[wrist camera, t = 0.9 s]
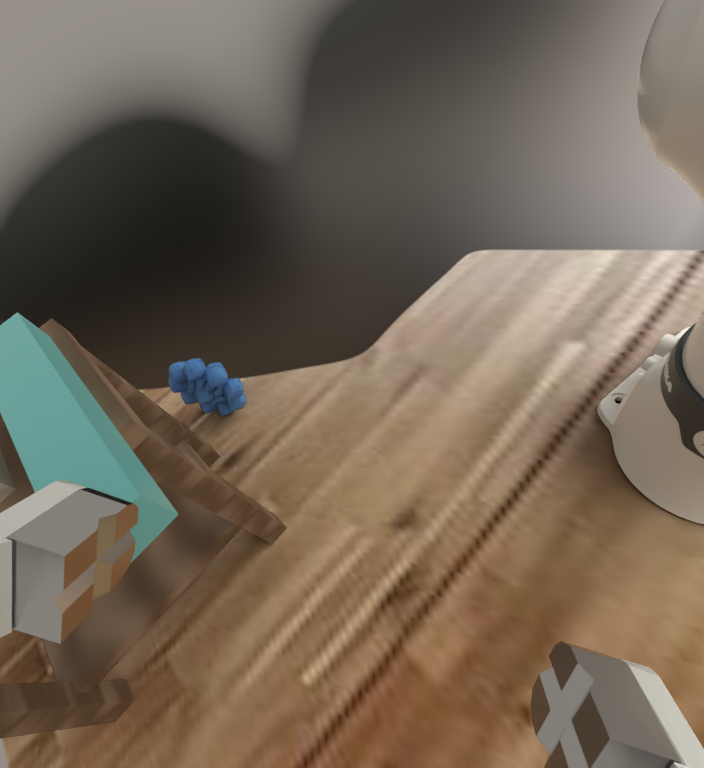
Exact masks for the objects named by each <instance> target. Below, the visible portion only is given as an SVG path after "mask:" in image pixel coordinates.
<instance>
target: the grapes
mask: <svg viewBox="0 0 704 768" xmlns="http://www.w3.org/2000/svg"><path fill="white" fill-rule="evenodd" d="M169 375H170V377H169V381H168V383H169V386H170V388H171V390H172V391H173V393H177V392H181V397H182V399H183V401H184V402H185V404H193V403H196V402H199V403H200V407H201V408H202V410H203V412H204V413H208V412H212V411H215V410H216V409H217V408H218V410H219V412H220V413H221V415H228V414H231V413H233V412H234V411H235V410H238V409H241V408H243V407H244V406H245V405H246V402H247V400H246V396H245V394H244V393H243V392H244V388H243V384H242V383H241V381H240V380H239V379H238V378H231V379H228V375H227V372H226V370H225V368H224V367H223V365H222V364H221V363H219V362H218V363H211V364H209V365H208V366H207V367H205V364H204V363H203V361H202V360H201V359H199V358H198V359H190V360H188V361H187V362H176V363H173V364H172V365H171V366H170V367H169Z"/></svg>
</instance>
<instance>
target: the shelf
mask: <svg viewBox="0 0 704 768" xmlns="http://www.w3.org/2000/svg"><path fill="white" fill-rule="evenodd" d="M39 329H40V330H42V331H43V332H44V333H46V334H47V335H48V336H50V337H51V339H52V340H53V342H54V343H55V344H56V346H57V347H58V349H59V350H60V351H61V353H62V354H63V355H64V357H65V358H66V360H67V361H68V362H69V364H70V365H71V366H72V368H73V369H74V371H75V372H76V373H77V375H78V376H79V378H80V379H81V380H82V382H83V383H84V384H85V386H86V387H87V389H88V390H89V391H90V393H91V394H92V395H93V397H94V398H95V400H96V401H97V402H98V404H99V405H100V406H101V408H102V409H103V411H104V412H105V413H106V415H107V416H108V418H109V419H110V420H111V422H112V423H113V424H114V426H115V427H116V429H117V430H118V431H119V433H120V434H121V435H122V437H123V438H124V440H125V441H126V442H127V444H128V445H129V446H130V448H131V449H132V451H133V452H134V453H135V455H136V456H137V458H138V459H139V460H140V462H141V463H142V464H143V466H144V467H145V469H146V470H147V471H148V473H149V474H150V475H151V477H152V478H153V480H154V481H155V482H156V484H157V485H158V486H159V488H160V489H161V491H162V492H163V493H164V495H165V496H166V498H167V499H168V500H169V502H170V503H171V504H172V506H173V507H174V509H175V510H176V511H177V513H178V514H179V515H178V516H177V517H176V518H175V519H174V520H173V521H172V522H171V523H170V524H169V525H168V526H167V527H166V528H165V529H164V530H163V531H162V532H161V533H160V534H159V535H158V536H157V537H156V538H155V539H154V540H153V541H152V542H151V543H150V544H149V545H148V546H147V547H146V548H145V549H144V550H143V551H142V552H141V553H140V554H139V555H138V556H137V557H136V558H135V559H134V560H133V561H132V562H131V563H130V565H129V567H128V569H127V570H126V572H125V574H124V575H123V577H122V579H121V580H120V581H119V582H118V584H117V585H116V586H115V587H114V588H113V589H112V590H111V591H110V592H109V593H106V594H104V595H101V596H99V597H96V598H94V599H93V601H92V610H91V612H90V614H89V615H88V616H87V617H86V618H85V619H84V620H83V621H82V622H81V623H80V624H79V625H78V626H77V627H76V628H75V629H74V630H73V631H72V632H71V633H70V635H69V636H68V637H67V638H66V639H65V640H64V641H63V642H62V643H61V644H59V643H56V642H53V641H49V640H46V639H43V638H42V639H43V642H44V645H45V648H46V651H47V654H48V657H49V660H50V663H51V666H52V669H53V672H54V675H55V678H56V681H57V682H50V683H23V684H0V738H7V737H14V736H21V735H28V734H34V733H41V732H48V731H55V730H62V729H69V728H75V727H82V726H89V725H96V724H103V723H110V722H115V721H116V720H117V719H118V718H119V717H120V716H121V714H122V713H123V712H124V711H125V710H126V709H127V708H128V707H129V705H130V704H131V703H132V702H133V701H134V698H133V696H132V694H131V692H130V689H129V687H128V685H127V683H126V680H104V681H101V680H102V679H103V678H104V677H105V676H106V674H107V673H108V672H109V671H110V670H111V669H112V668H113V667H114V666H115V665H116V664H117V663H118V661H119V660H120V659H121V658H122V657H123V656H124V655H125V654H126V653H127V652H128V651H129V649H130V648H131V647H132V646H133V645H134V644H135V643H136V642H137V641H138V640H139V639H140V638H141V636H142V635H143V634H144V633H145V632H146V631H147V630H148V629H149V628H150V627H151V626H152V625H153V623H154V622H155V621H156V620H157V619H158V618H159V617H160V616H161V615H162V614H163V613H164V612H165V610H166V609H167V608H168V607H169V606H170V605H171V604H172V603H173V602H174V601H175V600H176V599H177V597H178V596H179V595H180V594H181V593H182V592H183V591H184V590H185V589H186V588H187V587H188V585H189V584H190V583H191V582H192V581H193V580H194V579H195V578H196V577H197V576H198V575H199V574H200V572H201V571H202V570H203V569H204V568H205V567H206V566H207V565H208V564H209V563H210V562H211V561H212V559H213V558H214V557H215V556H216V555H217V554H218V553H219V552H220V551H221V550H222V549H223V548H224V546H225V545H226V544H227V543H228V542H229V541H230V540H231V539H232V538H233V537H234V536H235V535H236V533H237V532H238V531H239V530H240V529H241V528H242V529H244V530H246V531H248V532H250V533H252V534H253V535H255V536H257V537H259V538H261V539H263V540H264V541H266V542H268V543H270V544H273V543H274V542H275V541H276V540H277V538H278V537H279V536H280V535H281V534H282V533H283V532H284V531H285V529H286V526H285V525H284V524H283V523H282V522H281V521H280V520H279V519H278V518H277V517H276V516H275V515H274V514H273V513H271V512H270V511H268V510H267V509H266V508H264V507H263V506H261V505H260V504H258V503H257V502H255V501H254V500H252V499H251V498H250V497H248V496H247V495H245V494H244V493H242V492H241V491H239V490H238V489H236V488H235V487H234V486H232V485H231V484H229V483H228V482H226V481H225V480H223V479H222V478H220V477H219V476H218V475H216V474H215V473H214V472H213V471H212V470H211V469H210V468H209V467H210V466H211V465H212V464H213V463H214V462H215V461H216V460H217V459H218V458H219V457H220V456H219V455H218V454H217V452H216V451H215V450H214V449H213V448H212V447H211V446H210V445H208V444H207V443H206V442H204V441H203V440H202V439H201V438H199V437H198V436H197V435H195V434H194V433H193V432H191V431H190V430H189V429H188V428H186V427H185V426H184V425H182V424H181V423H180V422H179V421H177V420H176V419H175V418H173V417H172V416H171V415H170V414H168V413H167V412H166V411H164V410H163V409H162V408H160V407H159V406H158V405H157V404H155V403H154V402H153V401H151V400H150V399H149V398H148V397H146V396H145V395H144V394H142V393H141V392H140V391H138V390H137V389H136V388H135V387H133V386H132V385H131V384H129V383H128V382H127V381H126V380H124V379H123V378H122V377H120V376H119V375H118V374H116V373H115V372H114V371H113V370H111V369H110V368H109V367H107V366H106V365H105V364H104V363H102V362H101V361H100V360H98V359H97V358H96V357H95V356H93V355H92V354H91V353H89V352H88V351H87V350H86V349H84V348H83V347H82V346H80V345H79V343H78V342H77V341H76V340H75V338H74V337H73V336H72V335H71V333H70V332H68V331H67V330H66V329H65V328H63V327H62V326H61V325H59V324H58V323H57V322H56V321H54V320H53V319H50V320H49V321H48V322H46V323H45V324H44V325H43V326H41V327H40V328H39ZM34 493H35V491H34V489H33V487H32V484H31V482H30V480H29V477H28V475H27V473H26V471H25V468H24V466H23V464H22V461H21V459H20V457H19V454H18V452H17V450H16V447H15V445H14V443H13V441H12V438H11V436H10V434H9V431H8V429H7V427H6V424H5V422H4V420H3V417H2V415H1V413H0V513H1V512H3V511H5V510H7V509H8V508H10V507H12V506H13V505H15V504H17V503H19V502H20V501H22V500H24V499H25V498H27V497H29V496H31V495H32V494H34Z"/></svg>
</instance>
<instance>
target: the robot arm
mask: <svg viewBox="0 0 704 768" xmlns="http://www.w3.org/2000/svg"><path fill="white" fill-rule="evenodd" d="M637 107H638V114H639V120H640V124H641V128H642V131H643V134H644V137H645V139H646V141H647V143H648V145H649V147H650V149H651V150H652V152H653V153H654V155H655V156H656V157H657V159H658V160H660V161H661V162H663V163H664V164H665V165H667V166H668V167H670V168H671V169H672V170H673V171H674V172H675V173H676V174H678V175H679V176H680V177H681V178H682V179H683V180H684V181H685V182H686V183H687V184H688V185H689V186H690V187H691V188H692V189H693V191H694V192H695V193H696V194H697V196H698V197H699V199H700V200H701V201H702V203H703V204H704V0H664V2H663V4H662V6H661V8H660V10H659V12H658V14H657V16H656V18H655V20H654V23H653V25H652V27H651V30H650V33H649V36H648V38H647V41H646V44H645V48H644V51H643V55H642V59H641V64H640V68H639V75H638V85H637ZM653 352H654V355H653V356H649V357H648V358H647V359H646V360H645V361H644V362H643V364H642V365H641V366H640V367H639V368H638V369H637V370H635V371H634V372H633V373H632V374H631V375H630V376H629V377H627V378H626V379H625V380H624V381H623V382H622V383H621V384H619V385H618V386H617V387H616V388H615V389H614V390H613V391H611V392H610V393H609V394H608V395H607V396H606V397H605V398H603V399H602V400H601V402H600V403H599V405H598V406H597V412H598V415H599V417H600V418H601V420H602V421H603V423H604V424H605V426H606V427H607V428H608V429H609V431H610V433H611V436H612V441H613V446H614V451H615V455H616V458H617V460H618V462H619V465H620V467H621V468H622V470H623V472H624V473H625V475H626V476H627V477H628V479H629V480H630V481H631V482H632V484H633V485H634V486H635V487H636V488H637V489H638V490H639V491H640V492H641V493H642V494H644V495H645V496H646V497H647V498H649V499H650V500H651V501H653V502H654V503H656V504H657V505H659V506H660V507H662V508H664V509H665V510H667V511H669V512H671V513H673V514H675V515H677V516H680V517H682V518H685V519H687V520H690V521H693V522H697V523H700V524H704V309H703V311H702V313H701V315H700V317H699V319H698V321H697V323H695V324H694V325H693V326H691V327H687V328H685V329H683V330H682V331H680V332H679V333H678V334H677V335H676V336H674V335H672V334H666V335H665V336H664V337H663V338H662V339H661V340H660V341H659V342H658V344H657V345H656V346H655V348H654V350H653ZM616 400H618V401H620V402H621V404H618V403H616V402H615V401H616ZM138 512H139V508H138V507H137V506H136V505H135V504H134V503H131V502H128V501H126V500H123V499H120V498H117V497H114V496H111V495H108V494H106V493H103V492H100V491H97V490H94V489H91V488H86V487H84V486H81V485H78V484H75V483H73V482H70V481H67V480H60V481H55V482H53V483H51V484H49V485H48V486H46V487H44V488H43V489H41V490H39V491H37V492H36V493H34V494H32V495H31V496H29V497H27V498H25V499H24V500H22V501H20V502H19V503H17V504H15V505H13V506H12V507H10V508H8V509H7V510H5V511H3V512H1V513H0V638H1V637H3V636H5V635H7V634H9V633H11V632H12V629H14V630H17V631H21V632H24V633H27V634H30V635H33V636H37V637H40V638H43V639H46V640H49V641H53V642H56V643H59V644H61V643H62V642H63V641H64V640H65V639H66V638H67V637H68V636H69V635H70V633H71V632H72V631H73V630H74V629H75V628H76V627H77V626H78V625H79V624H80V623H81V622H82V621H83V620H84V619H85V618H86V617H87V616H88V615H89V614H90V612H91V610H92V601H93V599H94V598H96V597H99V596H101V595H104V594H106V593H109V592H110V591H111V590H112V589H113V588H114V587H115V586H116V585H117V584H118V582H119V581H120V580H121V579H122V577H123V575H124V574H125V572H126V570H127V569H128V567H129V565H130V563H131V560H132V557H133V554H134V551H135V543H136V541H135V539H134V537H133V535H132V534H131V532H130V529H131V528H132V527H133V526H134V525H136V524H137V523H138ZM549 657H550V660H551V663H552V667H553V668H551V669H549V670H547V671H544V672H542V673H540V674H539V676H538V678H537V680H536V682H535V684H534V686H533V690H532V698H531V714H532V722H533V726H534V730H535V734H536V737H537V738H538V739H539V741H540V742H541V744H542V745H543V746H544V748H545V749H546V750H547V752H548V753H549V757H548V759H547V762H546V764H545V767H544V768H704V749H703V747H702V746H701V744H700V742H699V741H698V739H697V737H696V736H695V734H694V733H693V731H692V729H691V728H690V726H689V724H688V723H687V721H686V720H685V718H684V716H683V715H682V713H681V711H680V710H679V708H678V706H677V705H676V703H675V702H674V700H673V698H672V697H671V695H670V693H669V692H668V690H667V689H666V687H665V685H664V684H663V682H662V680H661V679H660V677H659V676H658V675H657V674H656V673H655V672H654V671H653V670H652V669H651V668H650V667H646V666H643V665H640V664H636V663H633V662H630V661H626V660H623V659H617V658H615V657H612V656H608V655H605V654H602V653H599V652H596V651H592V650H589V649H586V648H583V647H580V646H576V645H573V644H570V643H567V642H564V641H561V642H559V643H558V644H556V645H555V646H554V648H553V650H552V652H551V653H550V655H549Z"/></svg>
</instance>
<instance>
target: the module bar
mask: <svg viewBox="0 0 704 768" xmlns="http://www.w3.org/2000/svg"><path fill="white" fill-rule="evenodd" d="M0 413H1V415H2V417H3V420H4V422H5V424H6V427H7V429H8V431H9V434H10V436H11V438H12V441H13V443H14V445H15V447H16V450H17V452H18V454H19V457H20V459H21V461H22V464H23V466H24V468H25V471H26V473H27V475H28V477H29V480H30V482H31V484H32V487H33V489H34V491H35V493H36V492H37V491H39V490H41V489H43V488H44V487H46V486H48V485H49V484H51V483H53V482H55V481H60V480H67V481H70V482H73V483H75V484H78V485H81V486H84V487H86V488H91V489H94V490H97V491H100V492H103V493H106V494H108V495H111V496H114V497H117V498H120V499H123V500H126V501H128V502H131V503H134V504H135V505H136V506H137V507H138V508H139V512H138V523H137V524H136V525H134V526H133V527H132V528H131V529H130V532H131V534H132V535H133V537H134V539H135V541H136V543H135V551H134V554H133V557H132V560H131V562H132V561H133V560H134V559H135V558H136V557H137V556H138V555H139V554H140V553H141V552H142V551H143V550H144V549H145V548H146V547H147V546H148V545H149V544H150V543H151V542H152V541H153V540H154V539H155V538H156V537H157V536H158V535H159V534H160V533H161V532H162V531H163V530H164V529H165V528H166V527H167V526H168V525H169V524H170V523H171V522H172V521H173V520H174V519H175V518H176V517H177V516H178V515H179V514H178V513H177V511H176V510H175V509H174V507H173V506H172V504H171V503H170V502H169V500H168V499H167V498H166V496H165V495H164V493H163V492H162V491H161V489H160V488H159V486H158V485H157V484H156V482H155V481H154V480H153V478H152V477H151V475H150V474H149V473H148V471H147V470H146V469H145V467H144V466H143V464H142V463H141V462H140V460H139V459H138V458H137V456H136V455H135V453H134V452H133V451H132V449H131V448H130V446H129V445H128V444H127V442H126V441H125V440H124V438H123V437H122V435H121V434H120V433H119V431H118V430H117V429H116V427H115V426H114V424H113V423H112V422H111V420H110V419H109V418H108V416H107V415H106V413H105V412H104V411H103V409H102V408H101V406H100V405H99V404H98V402H97V401H96V400H95V398H94V397H93V395H92V394H91V393H90V391H89V390H88V389H87V387H86V386H85V384H84V383H83V382H82V380H81V379H80V378H79V376H78V375H77V373H76V372H75V371H74V369H73V368H72V366H71V365H70V364H69V362H68V361H67V360H66V358H65V357H64V355H63V354H62V353H61V351H60V350H59V349H58V347H57V346H56V344H55V343H54V342H53V340H52V339H51V337H50V336H48V335H47V334H46V333H44V332H43V331H42V330H40V329H39V328H37V327H36V326H35V325H33V324H32V323H31V322H29V321H28V320H27V319H25V318H24V317H22V316H21V315H20V314H19V313H16V314H15V315H13V316H12V317H11V318H10V319H8V320H7V321H6V322H4V323H3V324H2V325H0Z"/></svg>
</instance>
